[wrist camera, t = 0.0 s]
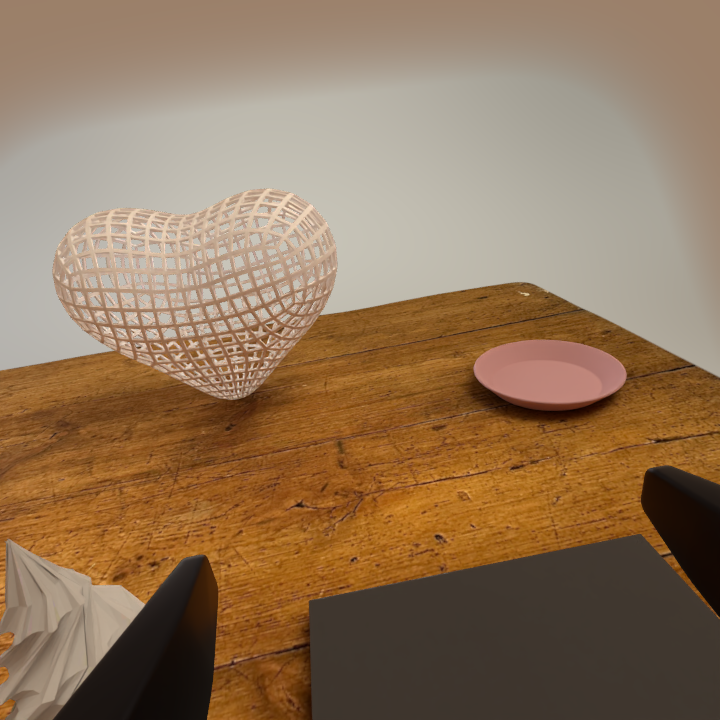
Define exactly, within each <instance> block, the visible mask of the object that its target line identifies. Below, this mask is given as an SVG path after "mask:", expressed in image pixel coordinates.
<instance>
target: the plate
mask: <svg viewBox="0 0 720 720" xmlns="http://www.w3.org/2000/svg"><path fill="white" fill-rule="evenodd" d="M474 374H475V376H476V378H477V379H478V381H479V382H480V383H481V384H482V385H483V386H485V387H486V388H488V389H489V390H490V391H492V392H493V393H495V394H496V395H498V396H499V397H500V398H502V399H504V400H505V401H507V402H510V403H512V404H514V405H517V406H521V407H524V408H529V409H534V410H542V411H565V410H573V409H578V408H582V407H585V406H588V405H590V404H593V403H595V402H597V401H599V400H601V399H603V398H605V397H607V396H609V395H611V394H613V393H615V392H616V391H618V390H619V389H620V388H621V387H622V386H623V384H624V383H625V381H626V370H625V368H624V367H623V365H622V364H621V363H620V362H619V361H618V360H617V359H616V358H614V357H613V356H611V355H609V354H608V353H606V352H604V351H601V350H599V349H596V348H593V347H590V346H586V345H582V344H578V343H572V342H566V341H556V340H529V341H520V342H514V343H509V344H505V345H501V346H498V347H495V348H493V349H491V350H489V351H487V352H485V353H484V354H482V355H481V356H480V357H479V358H478V359H477V361H476V362H475V365H474Z"/></svg>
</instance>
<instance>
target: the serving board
mask: <svg viewBox="0 0 720 720" xmlns="http://www.w3.org/2000/svg"><path fill="white" fill-rule="evenodd" d="M309 624H310V662H311V701H312V720H720V619H719V618H718V617H717V616H716V615H715V614H714V613H713V612H712V611H711V610H710V609H709V607H708V606H707V605H706V604H705V603H704V602H703V601H702V600H701V599H700V598H699V597H698V596H697V594H696V593H695V592H694V591H693V590H692V589H691V588H690V587H689V586H688V585H687V584H686V583H685V581H684V580H683V579H682V578H681V577H680V576H679V575H678V574H677V573H676V572H675V571H674V570H673V568H672V567H671V566H670V565H669V564H668V563H667V562H666V561H665V560H664V559H663V558H662V557H661V555H660V554H659V553H658V552H657V551H656V550H655V549H654V548H653V547H652V546H651V545H650V544H649V542H648V541H647V540H646V539H645V538H644V537H643V536H642V535H641V534H637V535H632V536H627V537H622V538H617V539H612V540H607V541H602V542H597V543H592V544H587V545H582V546H577V547H572V548H567V549H562V550H557V551H553V552H548V553H543V554H538V555H533V556H528V557H523V558H518V559H513V560H508V561H503V562H498V563H493V564H488V565H483V566H478V567H473V568H468V569H463V570H458V571H453V572H448V573H443V574H438V575H433V576H428V577H423V578H418V579H414V580H409V581H404V582H399V583H394V584H389V585H384V586H379V587H374V588H369V589H364V590H359V591H354V592H349V593H344V594H339V595H334V596H329V597H324V598H319V599H314V600H310V601H309Z"/></svg>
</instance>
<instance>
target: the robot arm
mask: <svg viewBox="0 0 720 720" xmlns="http://www.w3.org/2000/svg"><path fill="white" fill-rule="evenodd" d="M641 504H642V507H643V510H644V512H645V513H646V515H647V516H648V518H649V519H650V521H651V522H652V524H653V525H654V527H655V528H656V530H657V531H658V533H659V534H660V536H661V537H662V539H663V540H664V542H665V543H666V545H667V546H668V548H669V549H670V551H671V553H672V554H673V556H674V557H675V559H676V560H677V562H678V563H679V565H680V566H681V568H682V569H683V570H684V572H685V573H686V575H687V576H688V578H689V579H690V580H691V582H692V583H693V584H694V586H695V587H696V588H697V590H698V591H699V592H700V593H701V595H702V596H703V597H704V598H705V600H706V601H707V602H708V603H709V605H710V606H711V607H712V608H713V610H714V611H715V612H716V613H717V615H718V616H719V617H720V485H719V484H716V483H714V482H711V481H709V480H706V479H703V478H701V477H698V476H696V475H693V474H690V473H688V472H685V471H683V470H680V469H677V468H675V467H672V466H668V465H665V466H659V467H654V468H650V469H648V470H647V471H646V473H645V477H644V483H643V489H642V495H641ZM217 609H218V586H217V582H216V579H215V577H214V574H213V571H212V568H211V566H210V563H209V560H208V558H207V557H206V556H205V555H196V556H191V557H186V558H184V559H183V560H181V562H180V563H179V564H178V565H177V566H176V568H175V569H174V570H173V571H172V573H171V574H170V575H169V576H168V578H167V579H166V580H165V581H164V582H163V584H162V585H161V586H160V587H159V589H158V590H157V591H156V592H155V594H154V595H153V596H152V597H151V599H150V600H149V601H148V602H147V603H146V605H145V606H144V607H143V608H142V610H141V611H140V612H139V613H138V615H137V616H136V617H135V618H134V619H133V621H132V622H131V623H130V624H129V626H128V627H127V628H126V629H125V631H124V632H123V633H122V634H121V636H120V637H119V638H118V639H117V640H116V642H115V643H114V644H113V645H112V647H111V648H110V649H109V650H108V652H107V653H106V654H105V655H104V657H103V658H102V659H101V660H100V661H99V663H98V664H97V665H96V666H95V668H94V669H93V670H92V671H91V673H90V674H89V675H88V676H87V678H86V679H85V680H84V681H83V682H82V684H81V685H80V686H79V687H78V689H77V690H76V691H75V692H74V694H73V695H72V696H71V697H70V699H69V700H68V701H67V702H66V703H65V705H64V706H63V707H62V708H61V710H60V711H59V712H58V713H57V715H56V716H55V717H54V718H53V720H207V715H208V709H209V703H210V697H211V690H212V683H213V673H214V658H215V642H216V626H217Z"/></svg>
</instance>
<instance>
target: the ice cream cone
mask: <svg viewBox="0 0 720 720" xmlns="http://www.w3.org/2000/svg"><path fill="white" fill-rule="evenodd" d="M7 540H8V539H7ZM5 542H6V582H5V602H6V610H5V612H4V615H3V617H2V619H1V622H0V635H1V634H3V633H6V632H12V633H14V635H15V637H14V641H13V644H12V645H11V646H10V648H9V649H8V650H7V651H5V652H4V653H3V654H1V655H0V667H6V668H7V669H8V671H9V678H8V679H7V681H5V682H4V683H3V684H1V685H0V705H2V704H3V703H5V702H6V701H7V700H8V699H12V700H15V701H16V702H15V704H14V706H13V708H12V711H11V714H10V715H8V716H7V717H6V719H5V720H53V718H54V717H55V716H56V715H57V713H58V712H59V711H60V710H61V708H62V707H63V706H64V705H65V703H66V702H67V701H68V700H69V699H70V697H71V696H72V695H73V694H74V692H75V691H76V690H77V689H78V687H79V686H80V685H81V684H82V682H83V681H84V680H85V679H86V678H87V676H88V675H89V674H90V673H91V671H92V670H93V669H94V668H95V666H96V665H97V664H98V663H99V661H100V660H101V659H102V658H103V657H104V655H105V654H106V653H107V652H108V650H109V649H110V648H111V647H112V645H113V644H114V643H115V642H116V640H117V639H118V638H119V637H120V636H121V634H122V633H123V632H124V631H125V629H126V628H127V627H128V626H129V624H130V623H131V622H132V621H133V619H134V618H135V617H136V616H137V615H138V613H139V612H140V611H141V610H142V608H143V607H144V606H145V604H144V603H143V602H141V601H140V600H139V599H137V598H136V597H135V596H134V595H132V594H131V593H130V592H129V591H127V590H126V589H125V588H124V587H122V586H121V585H92V583H91V578H90V577H89V576H86V575H83V574H80V573H77V572H75V571H74V570H73V569H66V568H63V567H60V566H57V565H55V564H53V563H51V562H49V561H47V560H45V559H43V558H41V557H39V556H37V555H35V554H33V553H31V552H29V551H27V550H26V549H24V548H22V547H21V546H19V545H18V544H16V543H15V542H13V541H11V540H10V539H9V540H8V541H5Z"/></svg>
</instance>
